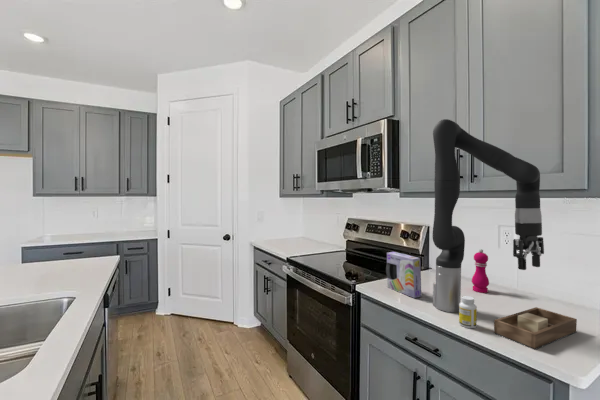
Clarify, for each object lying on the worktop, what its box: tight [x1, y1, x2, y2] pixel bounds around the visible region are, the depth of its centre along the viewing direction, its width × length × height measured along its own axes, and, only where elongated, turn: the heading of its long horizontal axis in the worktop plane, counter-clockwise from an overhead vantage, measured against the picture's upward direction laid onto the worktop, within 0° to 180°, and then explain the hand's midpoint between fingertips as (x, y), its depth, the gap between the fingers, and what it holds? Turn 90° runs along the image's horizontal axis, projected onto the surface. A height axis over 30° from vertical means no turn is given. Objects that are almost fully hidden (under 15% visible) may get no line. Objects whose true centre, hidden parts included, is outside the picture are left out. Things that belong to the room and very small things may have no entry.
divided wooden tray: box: [493, 306, 578, 350], centre depth 104 cm, size 12×26×4 cm, turn 118°
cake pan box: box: [385, 251, 422, 299], centre depth 145 cm, size 19×5×18 cm, turn 23°
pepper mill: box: [471, 248, 490, 294], centre depth 148 cm, size 7×7×20 cm
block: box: [518, 313, 548, 332], centre depth 103 cm, size 6×6×4 cm
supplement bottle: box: [458, 295, 478, 329], centre depth 109 cm, size 5×5×10 cm
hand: (529, 268), depth 108 cm, fingers open, 8 cm apart
